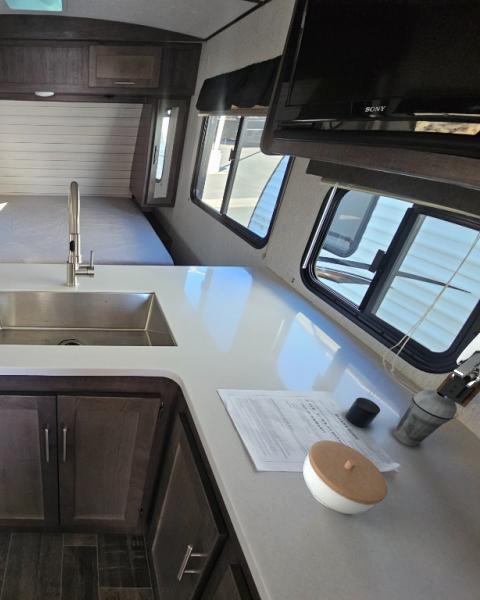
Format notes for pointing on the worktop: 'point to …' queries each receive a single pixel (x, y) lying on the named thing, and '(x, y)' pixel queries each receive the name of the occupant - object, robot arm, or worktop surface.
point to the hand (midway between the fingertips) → (459, 394)
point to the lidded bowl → (343, 478)
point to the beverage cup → (424, 416)
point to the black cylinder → (362, 412)
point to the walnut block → (473, 398)
